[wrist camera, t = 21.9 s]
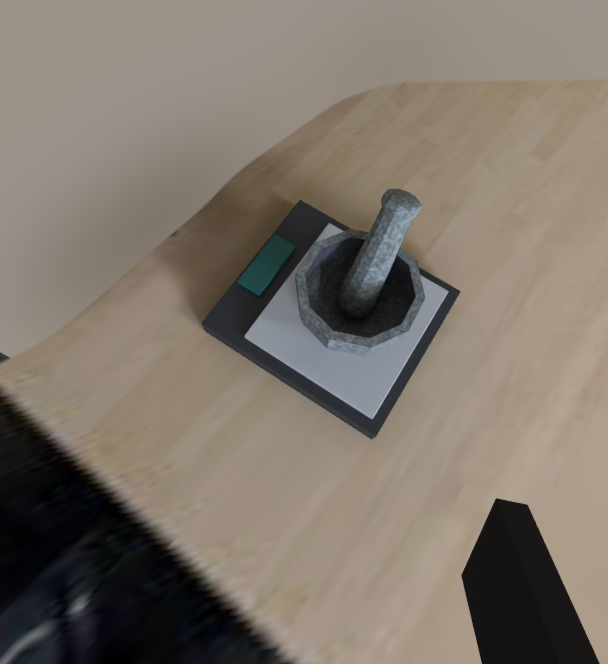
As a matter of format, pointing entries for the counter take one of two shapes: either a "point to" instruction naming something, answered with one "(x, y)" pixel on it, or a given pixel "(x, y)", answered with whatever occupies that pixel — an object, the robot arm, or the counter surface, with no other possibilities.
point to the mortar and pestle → (363, 282)
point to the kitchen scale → (302, 346)
